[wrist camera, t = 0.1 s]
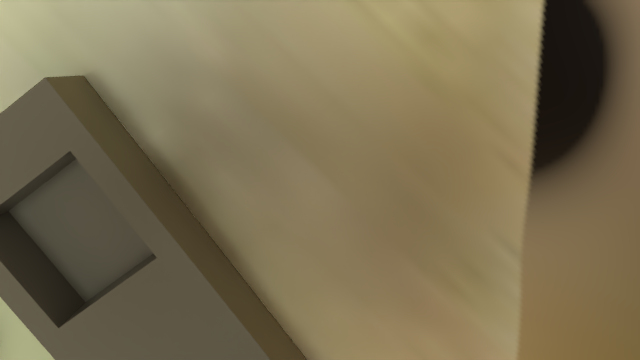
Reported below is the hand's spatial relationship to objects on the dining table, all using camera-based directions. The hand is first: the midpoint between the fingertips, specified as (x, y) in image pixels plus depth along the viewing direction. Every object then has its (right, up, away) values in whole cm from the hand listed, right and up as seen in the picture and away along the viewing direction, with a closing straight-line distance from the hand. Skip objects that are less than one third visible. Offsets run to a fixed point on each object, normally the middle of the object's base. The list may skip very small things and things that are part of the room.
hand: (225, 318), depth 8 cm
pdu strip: (-5, -4, +17) cm, 18 cm away
